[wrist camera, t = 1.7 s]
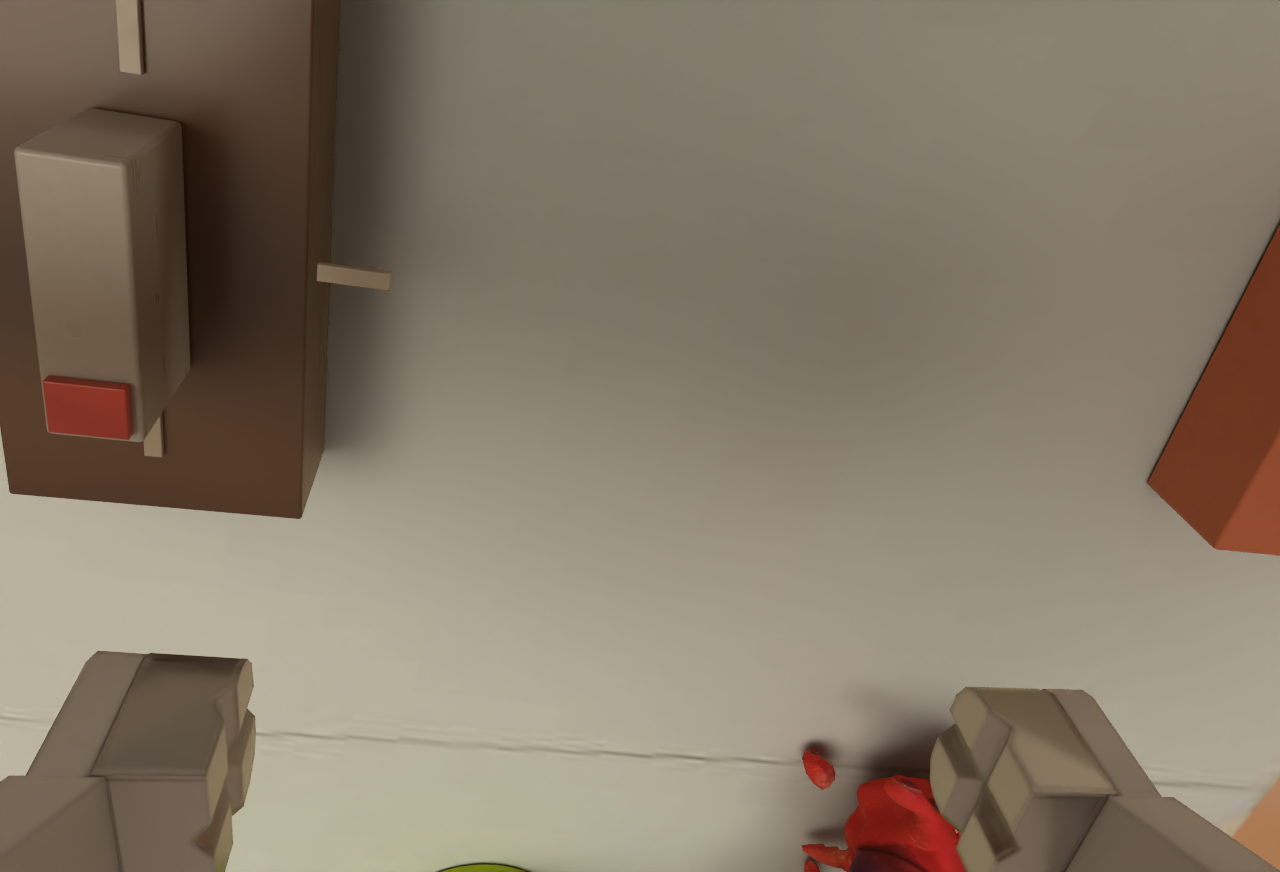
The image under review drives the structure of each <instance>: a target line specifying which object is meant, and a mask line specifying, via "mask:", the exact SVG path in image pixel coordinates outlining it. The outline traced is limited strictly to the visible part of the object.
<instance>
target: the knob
mask: <svg viewBox="0 0 1280 872" xmlns="http://www.w3.org/2000/svg"><path fill="white" fill-rule="evenodd" d="M14 155H15V164H16V172H17V181H18V189H19V198H20V206H21V215H22V223H23V232H24V240H25V249H26V257H27V265H28V274H29V282H30V291H31V299H32V308H33V316H34V325H35V333H36V342H37V350H38V359H39V367H40V376H41V384H42V393H43V401H44V410H45V418H46V426H47V431H48V432H49V433H51V434H61V435H71V436H81V437H92V438H102V439H112V440H122V441H132V442H142V441H144V440H145V438H146V437H147V435H148V433H149V432H150V430H151V429H152V427H153V426H154V424H155V423H156V421H157V420H158V418H159V417H160V415H161V414H162V412H163V410H164V409H165V407H166V406H167V404H168V403H169V401H170V400H171V398H172V397H173V395H174V394H175V392H176V391H177V389H178V387H179V386H180V384H181V383H182V381H183V380H184V378H185V377H186V375H187V374H188V372H189V370H190V341H189V313H188V286H187V259H186V231H185V204H184V177H183V149H182V127H181V124H180V123H179V122H177V121H171V120H164V119H158V118H151V117H145V116H139V115H132V114H126V113H119V112H113V111H107V110H100V109H94V108H87V109H85V110H83V111H81V112H79V113H78V114H76V115H74V116H72V117H70V118H69V119H67V120H65V121H63V122H61V123H60V124H58V125H56V126H54V127H52V128H51V129H49V130H47V131H45V132H43V133H42V134H40V135H38V136H36V137H34V138H33V139H31V140H29V141H27V142H25V143H24V144H22V145H20V146H18V147H16V148H15V151H14Z"/></svg>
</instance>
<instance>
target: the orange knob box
mask: <svg viewBox="0 0 1280 872" xmlns="http://www.w3.org/2000/svg"><path fill="white" fill-rule="evenodd" d="M1148 485H1149V486H1150V487H1151V488H1152V489H1153V490H1154V491H1155V492H1156V493H1157V494H1158V495H1159V496H1160V497H1161V498H1163V499H1164V500H1165V501H1166V502H1167V503H1168V504H1169V505H1170V506H1171V507H1172V508H1173V509H1174V510H1175V511H1176V512H1177V513H1178V514H1179V515H1180V516H1181V517H1182V518H1183V519H1184V520H1185V521H1186V522H1187V523H1188V524H1189V525H1190V526H1191V527H1192V528H1193V529H1194V530H1196V531H1197V532H1198V533H1199V534H1200V535H1201V536H1202V537H1203V538H1204V539H1205V540H1206V541H1207V542H1208V543H1209V544H1210V545H1211V546H1212V547H1213V548H1215V549H1219V550H1229V551H1239V552H1249V553H1259V554H1270V555H1280V225H1279V227H1278V229H1277V231H1276V232H1275V234H1274V236H1273V238H1272V240H1271V242H1270V244H1269V246H1268V248H1267V250H1266V252H1265V254H1264V256H1263V258H1262V260H1261V262H1260V264H1259V266H1258V268H1257V270H1256V272H1255V274H1254V276H1253V277H1252V279H1251V281H1250V283H1249V285H1248V287H1247V289H1246V291H1245V293H1244V295H1243V297H1242V299H1241V301H1240V303H1239V305H1238V307H1237V309H1236V311H1235V313H1234V315H1233V317H1232V319H1231V320H1230V322H1229V324H1228V326H1227V328H1226V330H1225V332H1224V334H1223V336H1222V338H1221V340H1220V342H1219V344H1218V346H1217V348H1216V350H1215V352H1214V354H1213V356H1212V358H1211V360H1210V362H1209V364H1208V365H1207V367H1206V369H1205V371H1204V373H1203V375H1202V377H1201V379H1200V381H1199V383H1198V385H1197V387H1196V389H1195V391H1194V393H1193V395H1192V397H1191V399H1190V401H1189V403H1188V405H1187V407H1186V408H1185V410H1184V412H1183V414H1182V416H1181V418H1180V420H1179V422H1178V424H1177V426H1176V428H1175V430H1174V432H1173V434H1172V436H1171V438H1170V440H1169V442H1168V444H1167V446H1166V448H1165V450H1164V452H1163V453H1162V455H1161V457H1160V459H1159V461H1158V463H1157V465H1156V467H1155V469H1154V471H1153V473H1152V475H1151V477H1150V479H1149V481H1148Z"/></svg>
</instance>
